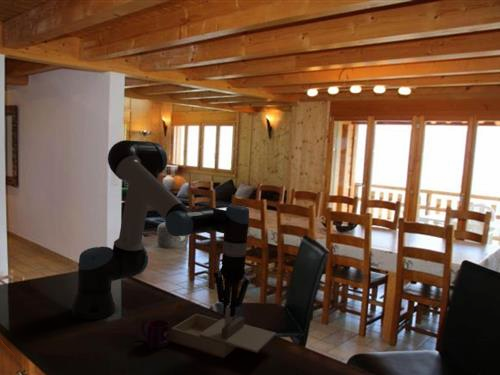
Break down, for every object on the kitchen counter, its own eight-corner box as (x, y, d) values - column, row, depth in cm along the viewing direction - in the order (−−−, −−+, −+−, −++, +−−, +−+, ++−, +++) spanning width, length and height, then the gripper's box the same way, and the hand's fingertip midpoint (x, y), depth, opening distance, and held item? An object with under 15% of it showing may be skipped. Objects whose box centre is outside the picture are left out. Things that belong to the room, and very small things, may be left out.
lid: (199, 335, 137) (200, 324, 136) (222, 320, 150) (223, 309, 150) (256, 352, 128) (257, 341, 128) (276, 334, 142) (276, 323, 142)
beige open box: (170, 341, 142) (171, 328, 141) (195, 325, 155) (196, 313, 155) (224, 358, 133) (225, 344, 133) (245, 340, 147) (246, 327, 147)
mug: (157, 350, 135) (158, 329, 134) (135, 340, 140) (136, 320, 140) (172, 343, 140) (173, 323, 140) (150, 334, 146) (152, 314, 145)
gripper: (210, 252, 138) (205, 324, 140) (247, 260, 132) (241, 334, 135) (222, 248, 145) (216, 316, 147) (257, 255, 139) (251, 326, 141)
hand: (228, 325), depth 141 cm, fingers closed
